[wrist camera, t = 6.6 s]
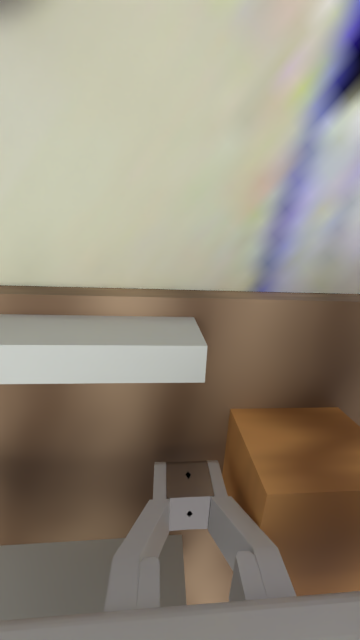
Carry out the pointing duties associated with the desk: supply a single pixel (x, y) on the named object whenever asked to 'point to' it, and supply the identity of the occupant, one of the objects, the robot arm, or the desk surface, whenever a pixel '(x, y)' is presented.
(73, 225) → the desk surface
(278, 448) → the orange block
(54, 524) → the walnut board
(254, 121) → the desk surface
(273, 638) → the robot arm
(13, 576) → the cubby
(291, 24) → the desk surface
